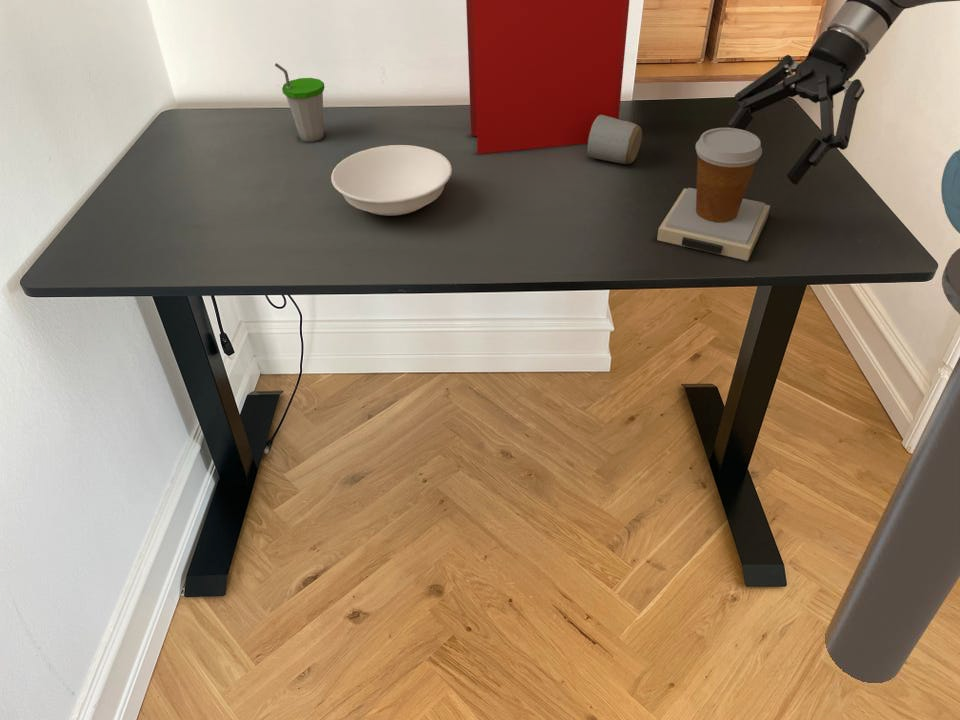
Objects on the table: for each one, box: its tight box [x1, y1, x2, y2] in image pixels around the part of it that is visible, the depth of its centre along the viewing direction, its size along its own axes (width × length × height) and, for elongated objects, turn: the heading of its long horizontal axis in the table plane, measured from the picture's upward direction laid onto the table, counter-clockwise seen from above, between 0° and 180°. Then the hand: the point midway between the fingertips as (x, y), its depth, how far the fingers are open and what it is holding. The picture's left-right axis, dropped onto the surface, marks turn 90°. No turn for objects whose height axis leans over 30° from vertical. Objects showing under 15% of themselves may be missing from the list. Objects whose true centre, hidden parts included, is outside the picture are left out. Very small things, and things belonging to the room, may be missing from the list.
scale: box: [656, 187, 771, 262], centre depth 123 cm, size 14×15×3 cm
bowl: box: [330, 144, 453, 217], centre depth 130 cm, size 20×20×6 cm
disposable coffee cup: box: [695, 127, 763, 222], centre depth 118 cm, size 10×10×12 cm
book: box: [465, 0, 631, 155], centre depth 140 cm, size 27×8×32 cm, turn 99°
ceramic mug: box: [587, 115, 643, 165], centre depth 141 cm, size 11×8×8 cm
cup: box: [274, 62, 325, 143], centre depth 149 cm, size 8×8×15 cm
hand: (755, 163), depth 120 cm, fingers open, 13 cm apart
